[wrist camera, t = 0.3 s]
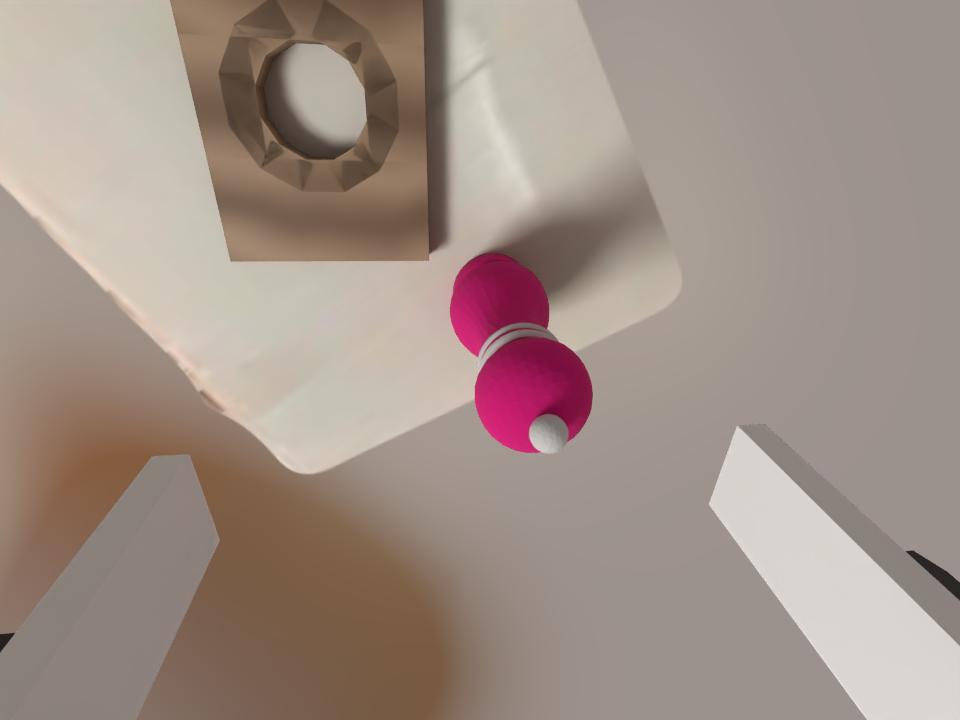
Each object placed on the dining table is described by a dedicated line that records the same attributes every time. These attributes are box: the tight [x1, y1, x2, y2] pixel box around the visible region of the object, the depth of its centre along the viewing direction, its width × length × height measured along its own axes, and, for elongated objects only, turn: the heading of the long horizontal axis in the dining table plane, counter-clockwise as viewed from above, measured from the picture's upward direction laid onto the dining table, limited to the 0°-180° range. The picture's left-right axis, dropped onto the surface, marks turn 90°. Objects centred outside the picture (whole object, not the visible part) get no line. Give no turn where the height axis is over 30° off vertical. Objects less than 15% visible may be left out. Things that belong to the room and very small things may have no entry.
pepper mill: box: [450, 254, 593, 454], centre depth 29 cm, size 7×7×20 cm
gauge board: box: [170, 0, 429, 261], centre depth 29 cm, size 20×14×2 cm
